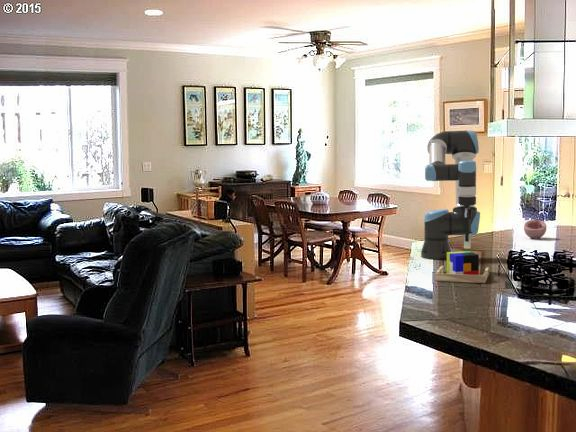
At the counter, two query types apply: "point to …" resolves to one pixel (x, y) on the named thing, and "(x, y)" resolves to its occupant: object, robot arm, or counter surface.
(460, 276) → the tray
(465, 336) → the counter surface
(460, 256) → the puzzle toy
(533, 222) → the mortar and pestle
